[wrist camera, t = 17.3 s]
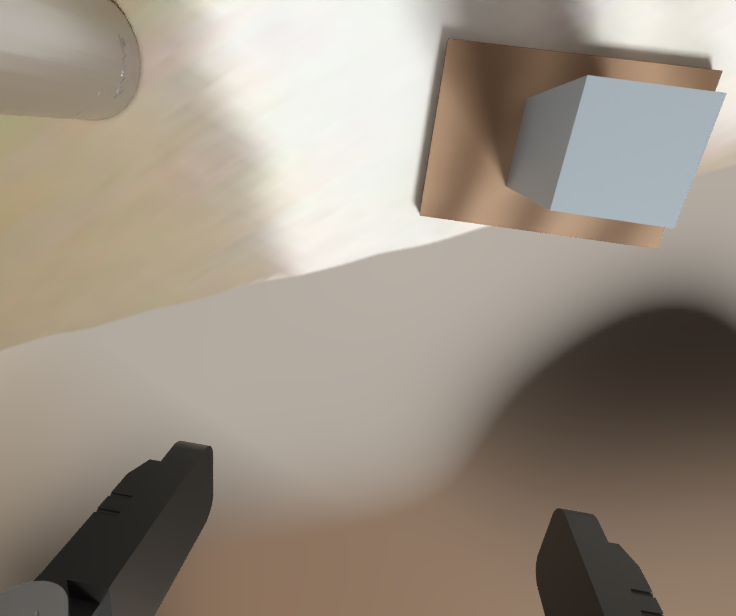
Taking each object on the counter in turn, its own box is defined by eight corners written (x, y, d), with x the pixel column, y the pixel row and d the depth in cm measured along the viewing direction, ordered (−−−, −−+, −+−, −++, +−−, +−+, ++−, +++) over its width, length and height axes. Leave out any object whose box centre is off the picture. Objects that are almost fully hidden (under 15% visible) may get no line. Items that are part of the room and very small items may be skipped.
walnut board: (419, 213, 35) (419, 215, 35) (447, 41, 31) (448, 38, 30) (650, 245, 34) (657, 249, 34) (713, 72, 30) (722, 70, 29)
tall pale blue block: (506, 186, 33) (550, 210, 22) (526, 98, 31) (587, 74, 20) (587, 198, 33) (674, 228, 22) (614, 110, 31) (726, 93, 19)
